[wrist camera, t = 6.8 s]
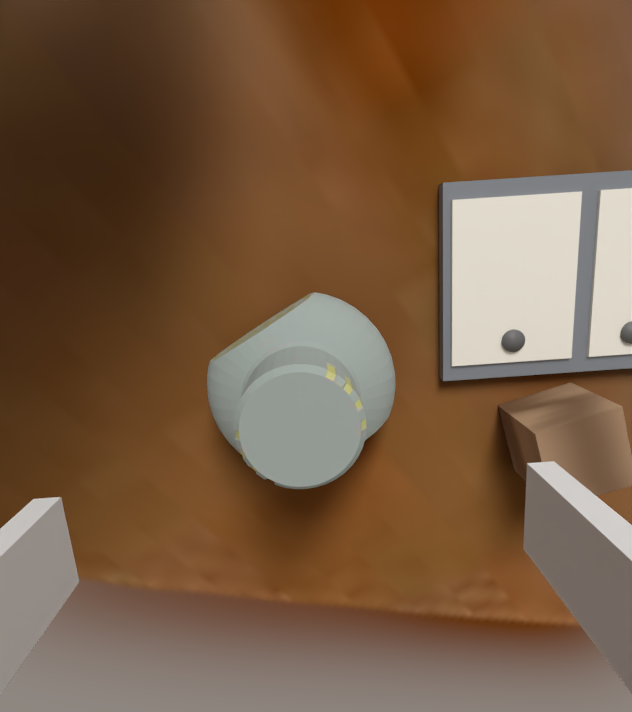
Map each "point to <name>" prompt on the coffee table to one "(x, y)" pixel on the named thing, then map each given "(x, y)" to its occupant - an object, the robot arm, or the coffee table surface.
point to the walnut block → (570, 436)
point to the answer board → (535, 275)
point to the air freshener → (303, 391)
